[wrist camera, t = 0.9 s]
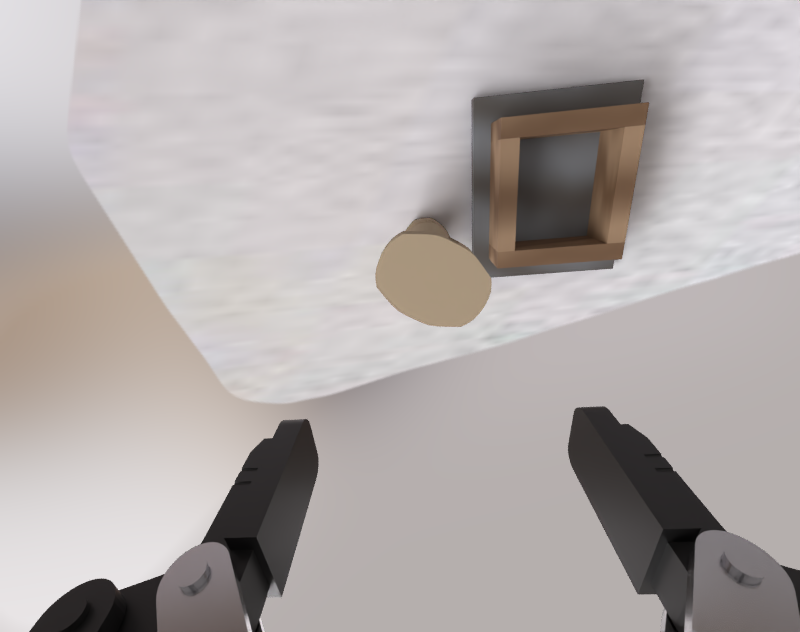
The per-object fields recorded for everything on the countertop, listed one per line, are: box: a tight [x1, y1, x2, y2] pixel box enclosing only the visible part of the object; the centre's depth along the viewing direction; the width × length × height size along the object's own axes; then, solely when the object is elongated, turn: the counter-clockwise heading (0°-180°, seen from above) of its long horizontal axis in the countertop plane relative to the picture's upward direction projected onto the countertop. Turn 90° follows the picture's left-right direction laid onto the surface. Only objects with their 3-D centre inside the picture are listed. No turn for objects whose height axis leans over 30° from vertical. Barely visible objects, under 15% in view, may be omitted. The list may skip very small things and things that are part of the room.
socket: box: [472, 80, 649, 277], centre depth 28 cm, size 15×13×4 cm
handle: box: [376, 218, 491, 327], centre depth 26 cm, size 5×6×15 cm
